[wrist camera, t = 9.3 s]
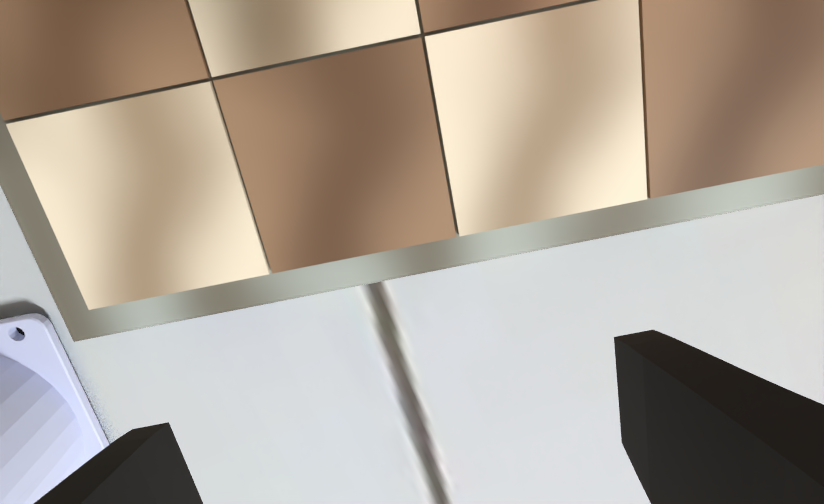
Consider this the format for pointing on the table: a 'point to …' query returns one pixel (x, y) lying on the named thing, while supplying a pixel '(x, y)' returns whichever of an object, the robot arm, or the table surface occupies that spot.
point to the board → (381, 137)
